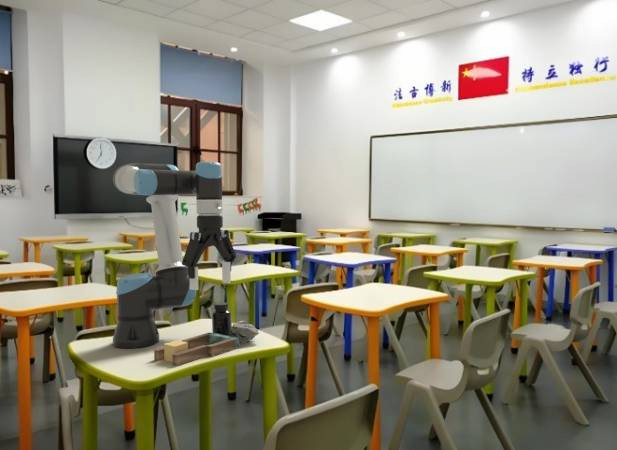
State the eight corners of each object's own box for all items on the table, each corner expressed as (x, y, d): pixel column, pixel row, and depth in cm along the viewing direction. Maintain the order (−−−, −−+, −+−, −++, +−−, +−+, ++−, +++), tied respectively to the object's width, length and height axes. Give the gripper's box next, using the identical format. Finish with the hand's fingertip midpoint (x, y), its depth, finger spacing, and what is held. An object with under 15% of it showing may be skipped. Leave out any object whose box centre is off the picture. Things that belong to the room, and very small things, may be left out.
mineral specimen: (244, 354, 175) (235, 353, 165) (228, 337, 177) (219, 336, 167) (263, 333, 175) (256, 332, 166) (248, 317, 178) (240, 315, 168)
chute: (150, 358, 154) (150, 349, 153) (209, 341, 173) (209, 332, 173) (181, 366, 145) (180, 356, 145) (239, 347, 165) (239, 338, 165)
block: (164, 360, 152) (163, 344, 152) (177, 356, 156) (177, 340, 156) (175, 363, 149) (174, 346, 149) (188, 358, 153) (187, 342, 153)
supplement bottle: (219, 334, 182) (218, 301, 182) (235, 335, 180) (234, 302, 179) (208, 338, 176) (207, 304, 176) (225, 340, 173) (224, 305, 173)
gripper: (187, 216, 136) (188, 294, 137) (246, 213, 157) (247, 281, 158) (168, 215, 140) (169, 291, 142) (228, 213, 161) (229, 279, 162)
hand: (210, 286), depth 150 cm, fingers open, 13 cm apart
